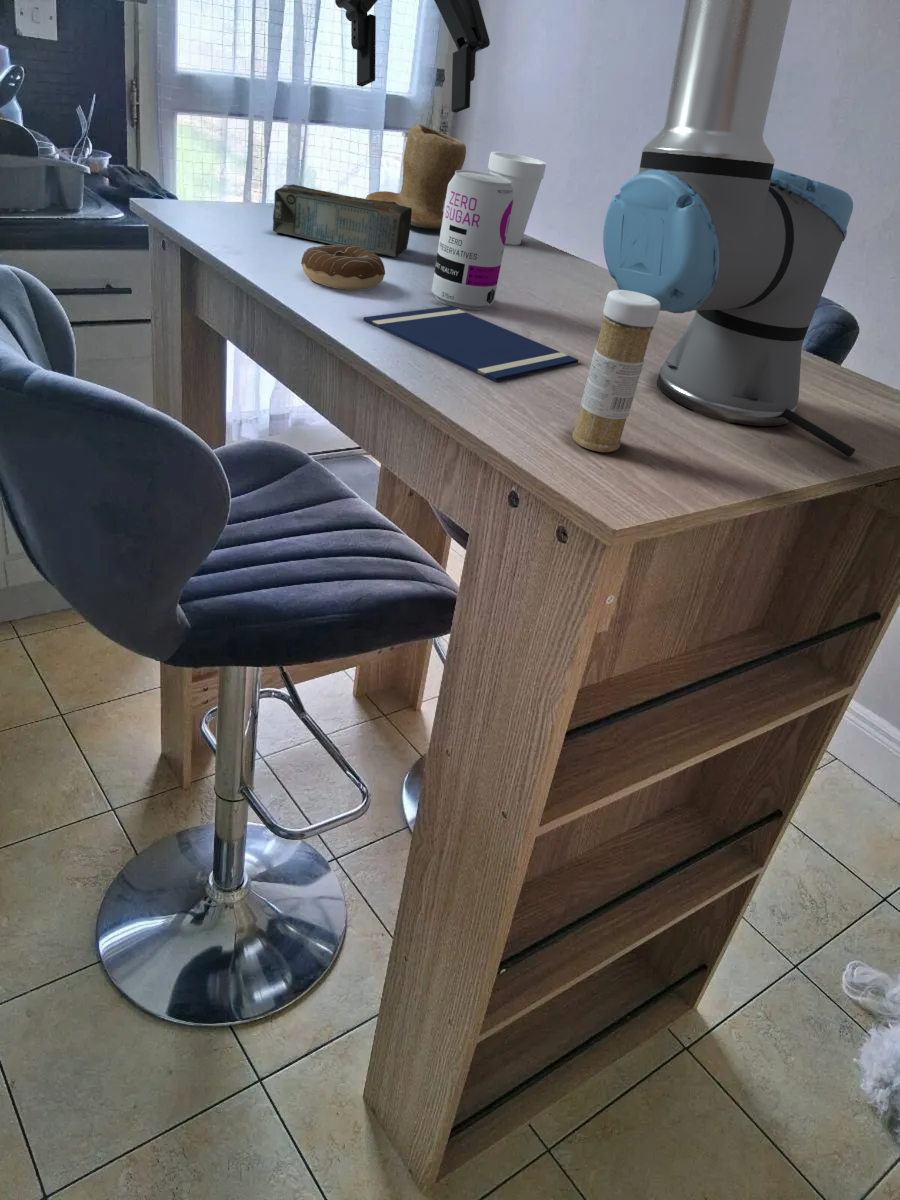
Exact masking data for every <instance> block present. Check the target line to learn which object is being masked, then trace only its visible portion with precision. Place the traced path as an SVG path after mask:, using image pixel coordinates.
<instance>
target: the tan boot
mask: <svg viewBox="0 0 900 1200" xmlns="http://www.w3.org/2000/svg"><path fill="white" fill-rule="evenodd" d="M466 155H467V147H466V144H465V143H464V142H462V141H461V140H459V139H457V138H454V137H453V136H449V135H447V134H444V133H442V132H440V131H438V130H436V129H434V128H431V127H428V126H425V125H423V124H415V125H414V126H413V127H411V129H410V130H409V132H408V135H407V139H406V141H405V147H404V152H403V159H402V169H403V170H402V185H401V188H400V189H401V190H400V192H393V191H387V190H386V191H381V190H380V191H375V192H371V193H369V194H367V195H366V197H365V199H373V200H380V201H390V202H395V203H397V204H398V205H401V206H405V207H409V208H410V207H411V209H412V215H411V225H410V226H413V227H416V228H417V227H418V228H423V229H435V230H436V229H437V230H441V226H442V220H443V213H444V206H445V200H446V194H447V187H448V184H449V182H450V181H451V179H452V178H453V176H454V175H455V171H456V170H463V169H462V168H463V166H464V163H465V161H466Z"/></svg>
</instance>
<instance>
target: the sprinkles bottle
mask: <svg viewBox="0 0 900 1200" xmlns="http://www.w3.org/2000/svg"><path fill="white" fill-rule="evenodd" d="M660 312H661V311H660V302H659V301H658V300H656V299H655V298H653V297H651V296H648V295H645V294H642V293H638V292H634V291H627V290H619V289H613V290H610V291H609V292H608V294H607V296H606V299H605V302H604V305H603V310H602V313H603V316H602V323H601V327H600V331H599V335H598V339H597V342H596V345H595V348H594V350H593V354H592V359H591V362H590V365H589V369H588V374H587V378H586V382H585V386H584V389H583V394H582V398H581V401H580V408H579V412H578V416H577V420H576V424H575V428H574V429H573V431H572V435H571V436H572V439H573V440H574V442H575V443H576V444H577V445H579V446H581V447H583V448H585V449H587V450H591V451H594V452H599V453H612V452H615V451H617V450H619V448H620V447H621V438H622V435H623V432H624V429H625V424H626V422H627V418H628V417H629V414H630V411H631V408H632V404H633V400H634V398H635V394H636V390H637V387H638V385H639V380H640V377H641V374H642V370H643V367H644V363H645V356H646V352H647V350H648V345H649V341H650V338H651V334H652V331H653V330H654V326H656V324H657V321H658V317H659V314H660Z"/></svg>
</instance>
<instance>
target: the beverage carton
mask: <svg viewBox="0 0 900 1200" xmlns="http://www.w3.org/2000/svg"><path fill="white" fill-rule="evenodd" d="M273 195H274V197H273V200H274V201H273V203H274V204H273V211H272V231H273V232H274V233H279V234H284V235H288V236H294V237H297V238H302V239H306V240H310V241H316V242H320V243H324V244H328V245H354V246H358V247H362V248H365V249H368V250H370V251H372V252H374V253H375V254H377V255H383V256H387V257H393V258H396V257H397V256H399V255H400V254H402V253H403V252H405V251H406V250H407V249H408V244H409V239H410V233H411V226H412V225H411V215H412V209H411V207H410V208H409V207H405V206H401V205H398V204H397V203H395V202H390V201H380V200H373V199H366V198H363V197H357V196H351V195H345V194H340V193H336V192H331V191H325V190H321V189H315V188H311V187H307V186H305V185H304V186H302V185H297V184H292V183H291V184H282V187H280V188H279V187H278V188H276V189H275V190H274V194H273Z"/></svg>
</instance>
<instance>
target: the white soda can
mask: <svg viewBox="0 0 900 1200" xmlns="http://www.w3.org/2000/svg"><path fill="white" fill-rule="evenodd" d="M511 183H512V182H511V181H510V180H508V179H505V178H503V177H499V176H496V175H492V174H489V173H486V172H481V171H476V170H467V169H466V170H465V169H461V170H456V171H455V175H454V176H453V178H452V179H451V181H450V182H449V184H448V187H447V194H446V198H445V201H444V206H443V220H442V226H441V229H440V233H439V240H438V246H437V253H436V259H435V260H436V261H435V266H434V273H433V278H432V285H431V292H432V293H433V294H434V298H435V299H436V300H437V301H438V302H441V303H442V304H444V305H447V306H452V307H454V308H456V309H464V310H469V311H470V310H473V311H480V310H486V309H488V308H489V306H491V305H493V304H494V303H495V297H496V292H497V287H498V282H499V276H500V272H501V266H502V262H503V256H504V251H505V246H506V244H505V241H506V236H507V231H508V225H509V220H510V215H511V210H512V205H513V199H514V193H513V189H512V186H511Z"/></svg>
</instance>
